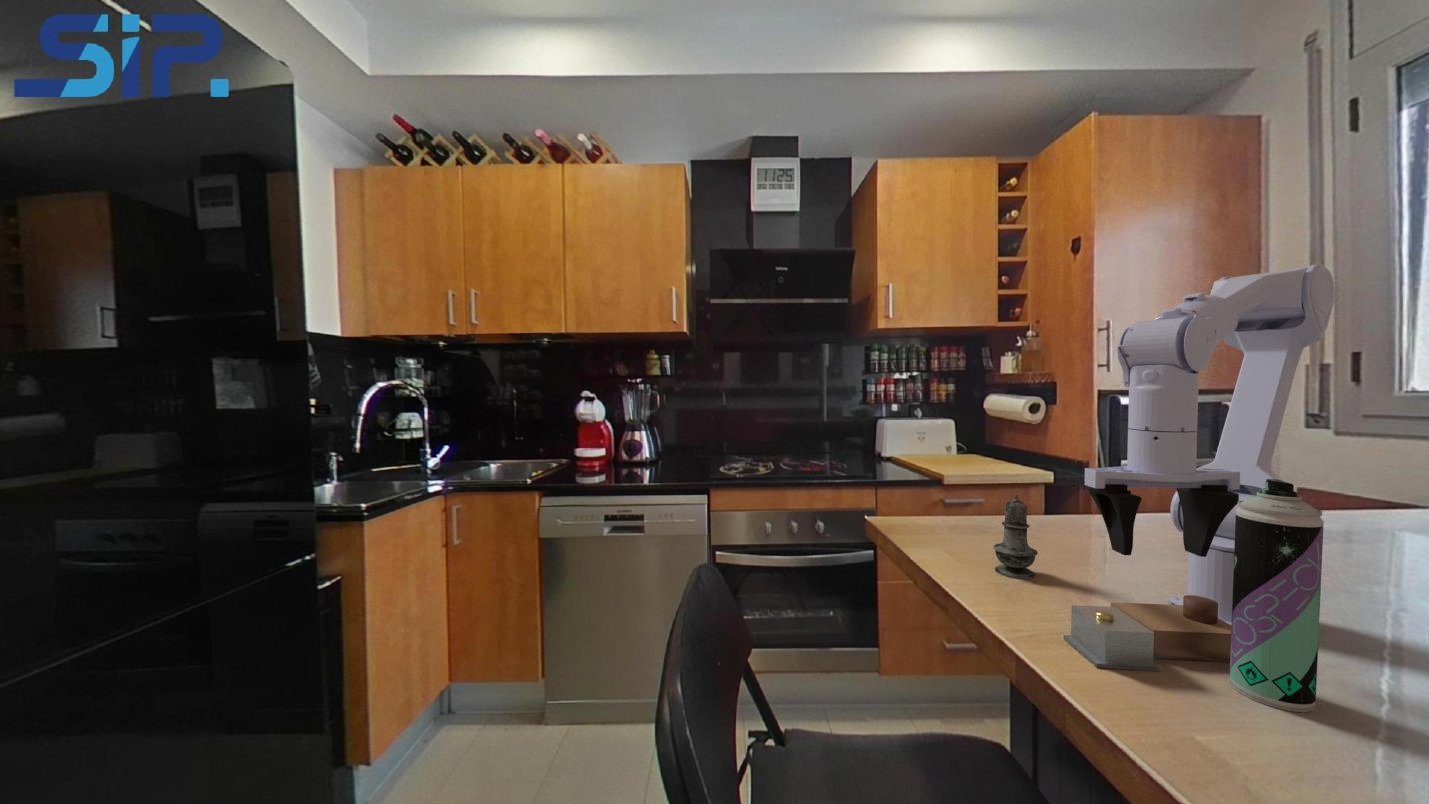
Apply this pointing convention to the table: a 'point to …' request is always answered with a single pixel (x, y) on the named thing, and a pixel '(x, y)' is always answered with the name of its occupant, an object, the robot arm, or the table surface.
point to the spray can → (1276, 598)
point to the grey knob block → (1112, 636)
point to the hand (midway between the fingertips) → (1158, 553)
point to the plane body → (1184, 629)
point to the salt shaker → (1015, 543)
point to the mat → (1098, 662)
